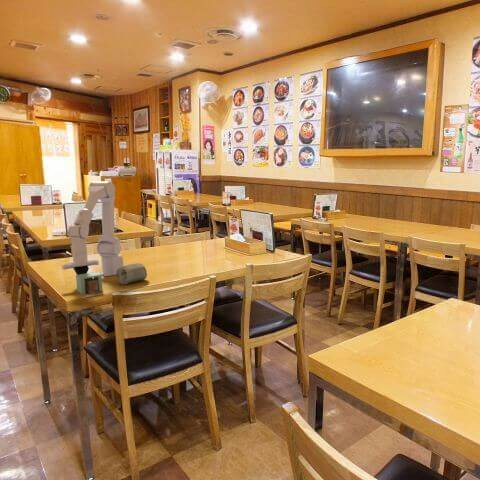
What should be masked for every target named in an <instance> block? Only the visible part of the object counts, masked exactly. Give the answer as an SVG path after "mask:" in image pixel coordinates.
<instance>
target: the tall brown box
mask: <svg viewBox="0 0 480 480" xmlns="http://www.w3.org/2000/svg"><path fill="white" fill-rule="evenodd" d="M84 282H85V293H87V294H89V295H95V294H98V293H99V291H98V281H97V280H95V279H94V277H93V278H87V279H84Z"/></svg>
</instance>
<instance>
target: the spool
mask: <svg viewBox="0 0 480 480" xmlns="http://www.w3.org/2000/svg"><path fill="white" fill-rule="evenodd" d="M116 274H117V275H116V278H117V280H118V282H119V283H120V284H121V285H124V286H125V285H127V284H131V283H137V282H141V281H145V280H146V279H147V276H148V272H147V269H146V266H145V265H144V264H142V263H139V262H138V263H135V262H134V263H130V264H125V265H123V267H120V268H118V269H117V273H116Z"/></svg>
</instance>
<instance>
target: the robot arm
mask: <svg viewBox="0 0 480 480" xmlns="http://www.w3.org/2000/svg"><path fill="white" fill-rule="evenodd" d="M87 191H88V195H87V199H86V201H85V205H84V207H83V208H82V209H80V210H79V212H78V213H77V216H76V218H75V220H74V222H73V224H71V225H69V227H68V230H67V236H69V239H70V242H71V249H72V262H68V263H64V264H63V263H62V264H61V268H62V270H63V271H64V270H65V271H66V270H68V269H69V270H71V269H73V270H74V273H75V274H76V275H80V274H86V273H89V272H88V271H89V270H90V269H89V268H90V266H99V265H100V264H99V259H92V260H89V259H88V247H87V237H88V236H89V233H90V232H89V231H90V224H91V221H92V218H93V217H94V214H93V210H94V209H95V207H96V205H97V203H98V202H99V200H100V201H101V205H102V206H101V207H102V208H101V209H102V211H101V215H102V216H101V217H102V220H101V221H102V229H101V230H102V231H101V232H102V235H101V236H100V237H99V238H98V239H97V245H96V251H97V254H98V255H99V257H101V272H99V273H100V274H101V275H102V277H103V276H104V277H110V276H117V274H116V273H117V269H118V268H120V267H123V266H124V259H123V256H122V254H121V253H120V252H121V251H122V247H121V243H120V238H118V237H117V236H116V235H115V199H116V187H115V185H114V183H113V182H112V181H110V180H108V181H93V180H92V181H91V182H90V183H89V186H88V189H87Z"/></svg>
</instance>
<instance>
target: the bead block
mask: <svg viewBox="0 0 480 480" xmlns="http://www.w3.org/2000/svg"><path fill="white" fill-rule="evenodd" d="M102 277H103V275H102V274H100V272H97V271H95V272H87V273H86V274H80V275H77V274H76V275H75V280H76V282H75V283H76V292H77V293H79V294H80V295H86V291H85V282H84V279H87V278H94V279H95V280H97V281H98V292H103V278H102Z"/></svg>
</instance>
